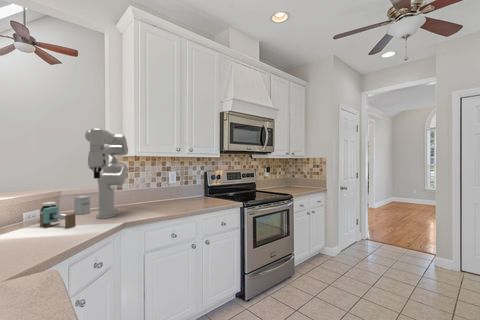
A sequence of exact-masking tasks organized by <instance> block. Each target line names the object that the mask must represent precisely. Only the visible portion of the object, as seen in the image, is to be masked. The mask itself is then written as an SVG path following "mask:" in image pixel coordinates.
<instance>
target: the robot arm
mask: <svg viewBox="0 0 480 320" xmlns="http://www.w3.org/2000/svg"><path fill="white" fill-rule="evenodd" d="M84 136H85V137H84V138H85V139H86V141H87V142H89V151H88V155H87V156H88V157H87V166H88V169H89V170H92V173H93V179H96V181H97V184H98V214H97V215H96V216H95V218H96V219H110V218H114V217H116V216H117V213H116V212H118V211H119V209H118V208H115V190H114V189H113V187H112V186H122V185H124V184H125V182H126V178H127V177H126V176H127V173H128V166H127V164H126V163H124V162H119V160H118V158H116V157H115V156H127V154H128V153H129V146H128V142H127V138H126V137H125V135H124V134H122V133H111V132H110V131H108V130H103V128H91V129H87V130H86V131H85V133H84Z"/></svg>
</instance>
